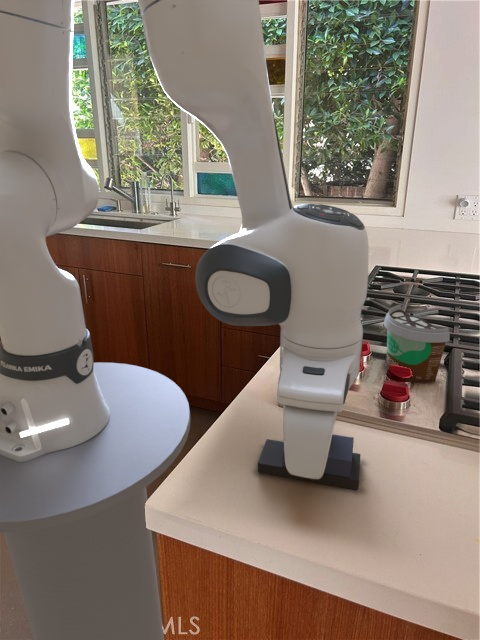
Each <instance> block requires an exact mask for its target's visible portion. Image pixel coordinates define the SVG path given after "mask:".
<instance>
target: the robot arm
mask: <svg viewBox="0 0 480 640" xmlns="http://www.w3.org/2000/svg"><path fill="white" fill-rule="evenodd" d="M137 2H138V6H139V12H140V18H141V21H142V26H143V32H144V38H145V42H146V47H147V51H148V55H149V58H150V61H151V63H152V67H153V69H154V72H155V74H156V76H157V79H158V81H159V84H160V86H161V89H162V90H163V92H164V93H165V94H166V96H167V97H168V98H169V99H170V100H171V101H172V102H173V103H174V104H175V105H176V106H177V107H178V108H180V109H181V110H182V111H183V112H185V113H187V114H188V115H190V116H191V117H193V118H194V119H195V120H197V121H199V123H201V124H202V125H203V126H205V127H206V128H207V130H209V131H210V132H211V133H212V134H213V135H214V137H215V138H216V139H217V140H218V142H219V143H220V144H221V146H222V148H223V150H224V152H225V154H226V156H227V160H228V163H229V166H230V167H229V168H230V172H231V175H232V179H233V183H234V188H235V193H236V197H237V200H238V204H239V208H240V209H239V210H240V212H241V225H240V229H239V232H237V233H234V234H231V235H230V236H228V237H225V238H223V239H222V240H220V241H219V242H216V243H215V244H214V245H212V246H211V247H210V248H208V249H207V250H206V251H205V252H204V253H203V254H202V255H201V257H200V258H199V260H198V262H197V265H196V269H195V273H194V275H195V276H194V278H195V279H194V282H195V288H196V289H195V290H196V293H197V295H198V298H199V300H200V302H201V304H202V305H203V307H204V308H205V309H206V311H207V312H208V313H209V314H210V315H212V317H214V318H215V319H217V320H218V321H220V322H222V323H224V324H227V325H230V326H236V327H267V326H275V325H279V326H280V327H279V328H280V333H279V334H280V335H279V337H280V339H279V341H280V342H279V343H280V344H279V371H280V372H279V377H278V382H277V393H276V399H277V400H276V401H277V403H278V404H280V405H283V409H282V433H283V434H282V435H283V442H284V453H285V464H286V468H287V470H288V472H289V473H290V474H291V475H295V476H300V477H305V478H310V479H320V478H321V477H322V476H323V474H324V471H325V467H326V463H327V458H328V453H329V449H330V444H331V439H332V434H333V435H334V429H335V424H336V420H337V417H338V413H341V412H342V411H343V409H344V406H345V405H346V400H347V396H348V393H349V390H350V388H351V387H352V385H353V384H354V381H355V380H356V379H357V378H358V376H359V374H360V370H361V358H362V357H361V356H362V349H363V348H362V347H363V337H364V328H363V327H364V326H363V323H362V310H363V307H364V305H365V303H366V300H367V296H368V295H367V294H368V285H369V284H368V283H369V269H370V268H369V267H370V266H369V265H370V248H369V247H370V246H369V238H368V232H367V229H366V226H365V224H364V223H363V221H362V220H361V219H360V218H359V217H358V216H357V215H356V214H354V213H352V212H350V211H348V210H346V209H344V208H341V207H337V206H333V205H328V204H322V203H316V204H315V203H300V204H297V205H294V206H293V203H292V199H291V193H290V189H289V184H288V179H287V174H286V168H285V162H284V157H283V151H282V146H281V141H280V136H279V132H278V127H277V121H276V118H275V113H274V108H273V100H272V93H271V86H270V82H269V74H268V66H267V65H268V64H267V57H266V49H265V48H266V47H265V41H264V40H265V39H264V32H263V31H264V30H263V22H262V15H261V8H260V7H261V6H260V1H259V0H137ZM74 8H75V0H0V454H1V455H3V456H5V457H8V458H10V459H13V460H15V461H18V462H26V461H29V460H32V459H34V458H36V457H39V456H41V455H43V454H46V453H49V452H54V451H59V450H63V449H67V448H70V447H73V446H76V445H78V444H81V443H83V442H85V441H87V440H89V439H91V438H92V437H94V436H95V435H96V434H98V433H99V432H100V431H101V430H102V429H103V428H104V427H105V426H106V425H107V423H108V421H109V419H110V409H109V407H108V405H107V404H106V402H105V400H104V397H103V395H102V393H101V390H100V387H99V384H98V381H97V378H96V375H95V372H94V363H95V362H94V349H93V344H92V338H91V333H90V330H88V328H86V327H87V325H86V319H85V314H84V307H83V301H82V295H81V288H80V284H79V282H78V280H77V278H76V277H74V275H73V274H71V273H69V272H68V271H66V270H64V269H61V268H58V266H57V265H56V263H55V262H54V260H53V258H52V256H51V254H50V251H49V249H48V246H47V237H49V236H53V235H57V234H59V233H62V232H65V231H68V230H72V229H73V228H75V227H76V226H77V225H79V224H80V223H82V222H83V221H85V219H87V218H88V217H89V216H90V215H92V214H93V213H94V211H95V210H96V208H97V206H98V204H99V198H100V186H99V181H98V178H97V176H96V174H95V172H94V170H93V169H92V167H91V166H90V165H89V163H87V161H86V160H85V159H84V156H83V154H82V151H81V149H80V144H79V140H78V137H77V133H76V128H75V123H74V117H73V116H74V115H73V108H72V107H73V104H72V102H73V101H72V83H73V82H72V77H73V74H72V73H73V45H74V15H75V13H74V11H75V9H74Z"/></svg>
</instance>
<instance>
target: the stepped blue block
mask: <svg viewBox="0 0 480 640" xmlns="http://www.w3.org/2000/svg"><path fill="white" fill-rule="evenodd" d="M354 439H355V437H354V436H353V437H351V436H347V435H340V434H334V433H333V434H332V439H331V444H330V449H329V453H328V458H327V463H326V467H325V471H324V474H323V476H322V477H321V478H320V479H310V478H305V477H300V476H295V475H291V474H290V473H289V472H288V470H287V468H286V464H285V453H284V441H280V440H276V439H270V438H269V439H268V438H267V439H265V442H264V445H263V448H262V451H261V454H260V457H259V459H258V462H257V472H258V473H260V474H265V475H271V476H276V477H283V478H288V479H294V480H300V481H305V482H310V483H316V484H321V485H327V486H334V487H338V488H344V489H349V490H355V491H358V490H359V484H360V471H361V453H357V452H353V451H354Z"/></svg>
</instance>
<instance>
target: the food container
mask: <svg viewBox="0 0 480 640" xmlns="http://www.w3.org/2000/svg"><path fill="white" fill-rule="evenodd" d="M383 327H384V328H385V329H386V331H387V332H386V334H387V335H386V369H387V371H388V370H389V365H391V364H395V365H399V366H403V367H407V368H410V369H411V371H412V375H413V377H412V376H411V377H410V378H404V379H403V378H402V379H401V378H399V379H400V380H403V381H407V382H412V383H417V384H419V383H421V384H429V383H434V382H436V380H437V377H438V373H439V369H440V365H441V361H442V358H443V354H444V351H445V348H446V343H447V342H448V343H449V342H450V341H451V338H450V337H451V336H450V335H451V332H449V331H450V328H449V327H445V328H438V327H436V326H434V325H432V324H431V323H430V322H429V321H427V320H426V319H424V318H423V317H419V316H416V315H412V314H410V313H408V312H406V311H404V310H402V304H398V305H397V304H396V305H395V306H392V307H391V308H389V310H388V312H387V313H386V315H385V318H384V321H383Z"/></svg>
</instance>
